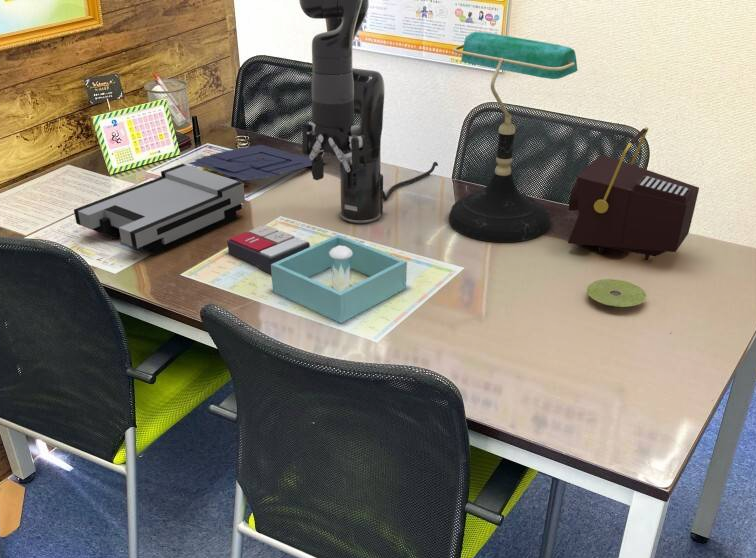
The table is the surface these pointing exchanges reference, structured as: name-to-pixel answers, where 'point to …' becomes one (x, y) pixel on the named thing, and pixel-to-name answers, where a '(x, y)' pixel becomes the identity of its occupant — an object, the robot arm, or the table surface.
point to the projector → (630, 207)
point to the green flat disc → (616, 293)
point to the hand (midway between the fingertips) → (334, 184)
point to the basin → (328, 301)
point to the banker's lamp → (507, 141)
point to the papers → (253, 162)
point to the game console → (165, 209)
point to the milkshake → (341, 267)
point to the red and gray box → (265, 246)
